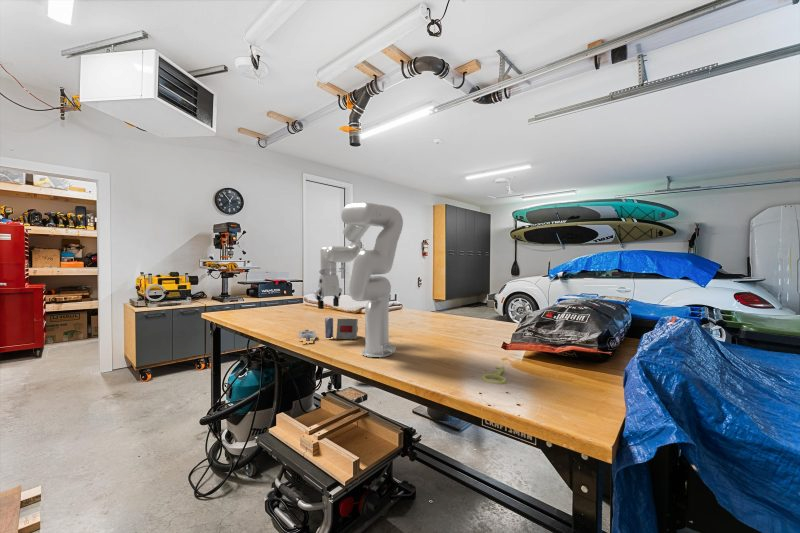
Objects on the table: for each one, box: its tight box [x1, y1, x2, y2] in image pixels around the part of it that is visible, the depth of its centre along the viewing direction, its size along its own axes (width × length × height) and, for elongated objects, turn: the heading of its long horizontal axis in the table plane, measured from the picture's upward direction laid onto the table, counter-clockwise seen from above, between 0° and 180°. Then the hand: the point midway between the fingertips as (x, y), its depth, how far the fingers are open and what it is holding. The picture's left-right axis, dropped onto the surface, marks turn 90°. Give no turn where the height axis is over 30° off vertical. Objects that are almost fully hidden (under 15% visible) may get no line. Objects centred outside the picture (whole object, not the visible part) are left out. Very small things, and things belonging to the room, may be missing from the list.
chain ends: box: [298, 329, 317, 342], centre depth 154 cm, size 24×8×3 cm, turn 18°
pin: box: [324, 317, 334, 338], centre depth 152 cm, size 4×4×10 cm
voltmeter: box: [336, 318, 359, 340], centre depth 157 cm, size 27×11×10 cm, turn 116°
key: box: [481, 365, 507, 385], centre depth 101 cm, size 7×12×2 cm, turn 164°
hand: (328, 307), depth 152 cm, fingers open, 9 cm apart
